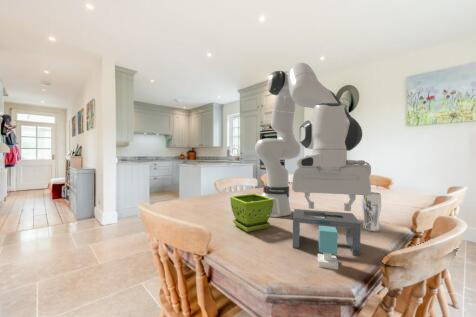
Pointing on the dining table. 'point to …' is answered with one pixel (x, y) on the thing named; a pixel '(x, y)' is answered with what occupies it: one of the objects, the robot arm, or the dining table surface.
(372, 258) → the dining table surface
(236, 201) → the flower pot
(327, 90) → the robot arm
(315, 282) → the dining table surface
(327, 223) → the keyhole bracket
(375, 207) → the beer glass
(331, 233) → the peg
